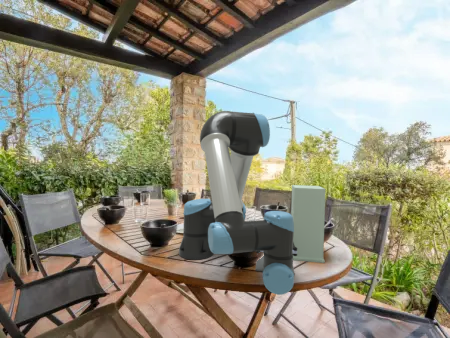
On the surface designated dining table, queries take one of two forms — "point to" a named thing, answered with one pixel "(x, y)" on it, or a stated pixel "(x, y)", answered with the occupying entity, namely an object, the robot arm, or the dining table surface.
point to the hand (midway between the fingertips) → (275, 235)
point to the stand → (308, 222)
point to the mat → (260, 265)
